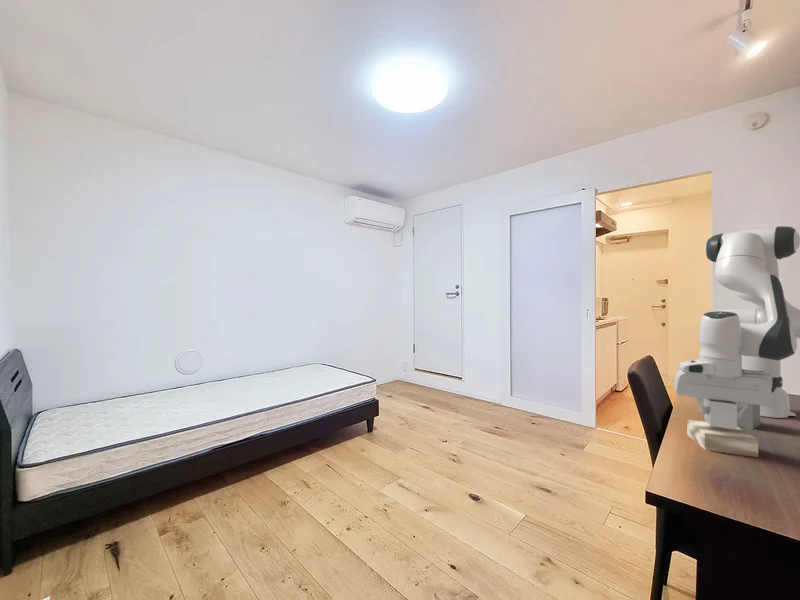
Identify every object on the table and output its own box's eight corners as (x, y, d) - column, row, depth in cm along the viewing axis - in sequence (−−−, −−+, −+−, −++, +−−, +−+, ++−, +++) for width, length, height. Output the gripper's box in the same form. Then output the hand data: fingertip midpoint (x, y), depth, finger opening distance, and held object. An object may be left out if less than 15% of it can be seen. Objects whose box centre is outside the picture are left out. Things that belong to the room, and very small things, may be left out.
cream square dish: (687, 435, 99) (687, 419, 99) (733, 441, 94) (733, 424, 94) (705, 450, 88) (705, 433, 88) (758, 458, 84) (758, 439, 84)
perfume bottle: (752, 429, 103) (752, 374, 103) (724, 422, 109) (724, 370, 109) (760, 425, 106) (759, 371, 106) (732, 418, 112) (731, 368, 112)
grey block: (704, 419, 95) (704, 396, 95) (729, 423, 92) (729, 399, 92) (710, 425, 90) (710, 401, 90) (737, 429, 88) (737, 404, 88)
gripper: (766, 369, 89) (767, 418, 89) (672, 362, 99) (672, 406, 99) (778, 374, 83) (778, 426, 83) (676, 365, 94) (677, 412, 94)
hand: (719, 415), depth 91 cm, fingers closed on grey block, 5 cm apart
